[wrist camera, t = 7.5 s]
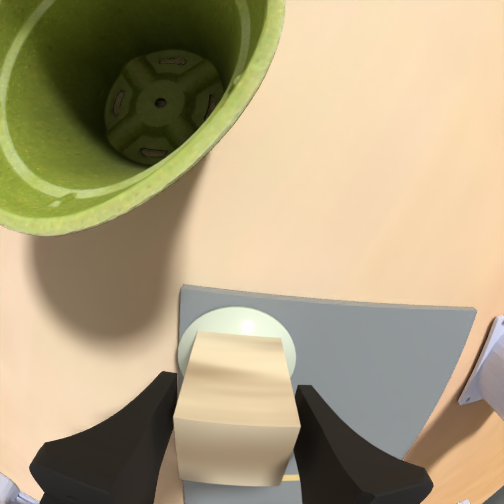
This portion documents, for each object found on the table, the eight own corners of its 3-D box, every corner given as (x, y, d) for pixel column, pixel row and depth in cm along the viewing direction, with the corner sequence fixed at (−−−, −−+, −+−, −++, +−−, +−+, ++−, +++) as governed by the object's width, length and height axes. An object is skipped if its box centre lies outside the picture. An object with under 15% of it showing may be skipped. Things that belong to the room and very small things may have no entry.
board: (472, 307, 15) (547, 360, 8) (359, 507, 21) (375, 558, 13) (183, 284, 14) (132, 378, 7) (186, 510, 20) (179, 569, 12)
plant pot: (68, 195, 13) (-63, 220, 5) (99, 31, 11) (13, -45, 2) (246, 213, 14) (250, 266, 5) (272, 30, 11) (300, -94, 3)
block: (269, 398, 15) (279, 486, 9) (196, 392, 15) (179, 479, 9) (281, 338, 14) (300, 426, 8) (197, 330, 14) (173, 417, 8)
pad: (305, 311, 14) (306, 315, 14) (283, 403, 15) (284, 407, 15) (180, 298, 14) (178, 301, 13) (179, 393, 15) (177, 397, 15)
